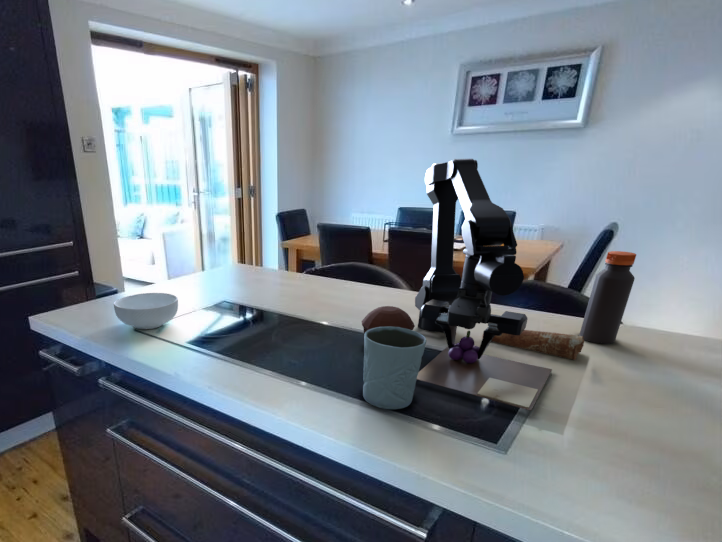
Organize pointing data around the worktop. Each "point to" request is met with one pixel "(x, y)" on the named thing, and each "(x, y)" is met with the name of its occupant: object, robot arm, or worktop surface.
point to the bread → (544, 342)
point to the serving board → (488, 378)
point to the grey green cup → (391, 366)
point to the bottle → (608, 298)
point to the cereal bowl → (146, 309)
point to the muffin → (387, 318)
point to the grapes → (465, 350)
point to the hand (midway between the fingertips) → (464, 355)
